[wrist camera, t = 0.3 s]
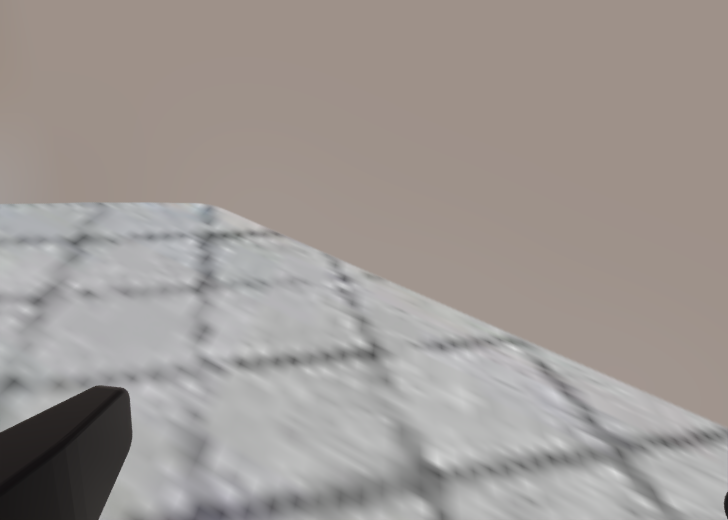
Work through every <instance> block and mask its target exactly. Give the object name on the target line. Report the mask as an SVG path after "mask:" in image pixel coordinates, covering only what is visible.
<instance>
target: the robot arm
mask: <svg viewBox="0 0 728 520" xmlns="http://www.w3.org/2000/svg"><path fill="white" fill-rule="evenodd" d="M131 442H132V421H131V408H130V397H129V393H128V391H127V390H126V389H124V388H121V387H112V386H102V385H100V386H95V387H92V388H90V389H88V390H86V391H84V392H82V393H80V394H78V395H76V396H74V397H72V398H70V399H68V400H66V401H64V402H61V403H59V404H57V405H55V406H53V407H51V408H49V409H47V410H45V411H43V412H41V413H39V414H37V415H35V416H33V417H31V418H29V419H27V420H25V421H23V422H21V423H19V424H17V425H15V426H13V427H11V428H8V429H6V430H4V431H2V432H0V520H99V517H100V515H101V513H102V511H103V508H104V506H105V504H106V502H107V499H108V497H109V495H110V493H111V490H112V488H113V486H114V484H115V481H116V479H117V477H118V475H119V472H120V470H121V468H122V466H123V463H124V461H125V459H126V457H127V454H128V452H129V449H130V446H131ZM724 509H725V514H726V516H727V519H728V492H727V494H726V496H725V499H724Z"/></svg>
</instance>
